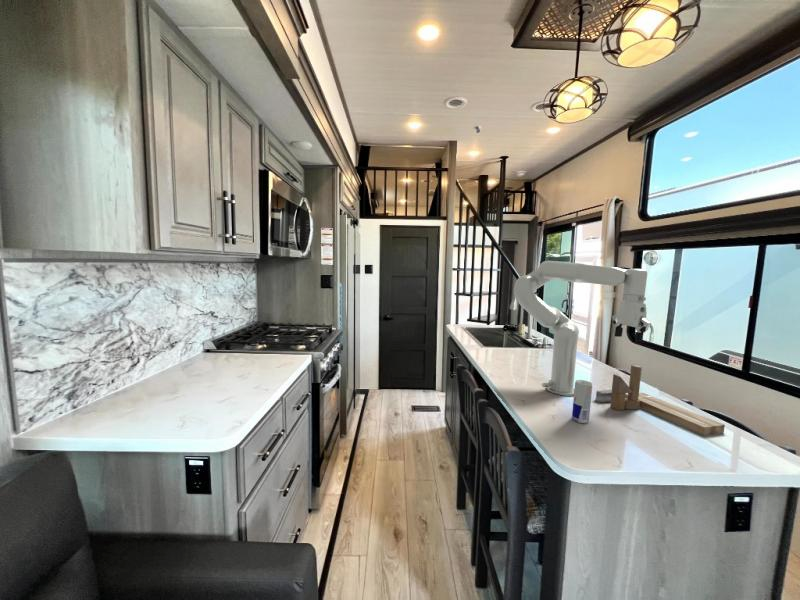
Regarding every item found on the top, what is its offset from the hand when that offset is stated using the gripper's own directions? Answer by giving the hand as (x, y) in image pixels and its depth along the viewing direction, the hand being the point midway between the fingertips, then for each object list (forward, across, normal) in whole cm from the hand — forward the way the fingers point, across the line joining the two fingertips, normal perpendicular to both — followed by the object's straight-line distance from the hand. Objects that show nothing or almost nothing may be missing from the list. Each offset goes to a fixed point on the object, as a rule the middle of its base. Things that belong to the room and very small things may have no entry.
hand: (628, 339), depth 137 cm
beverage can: (+28, -12, +30) cm, 43 cm away
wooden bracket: (+28, -5, +3) cm, 29 cm away
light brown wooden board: (+28, -13, -10) cm, 32 cm away
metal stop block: (+28, +3, +3) cm, 28 cm away
